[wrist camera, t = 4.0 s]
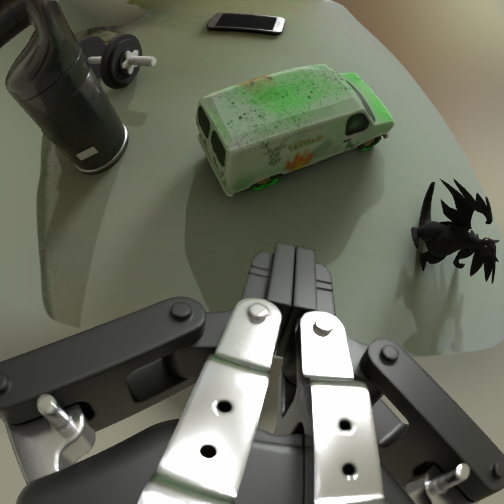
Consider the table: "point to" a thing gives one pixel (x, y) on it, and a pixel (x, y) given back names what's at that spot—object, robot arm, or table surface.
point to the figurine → (456, 232)
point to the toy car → (287, 124)
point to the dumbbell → (115, 59)
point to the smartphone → (247, 23)
